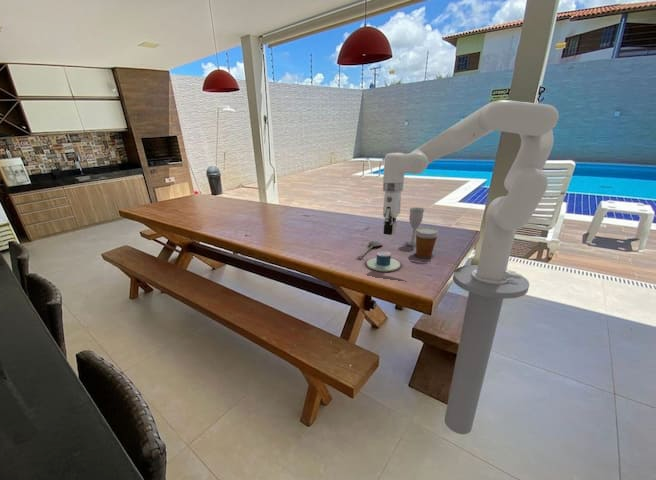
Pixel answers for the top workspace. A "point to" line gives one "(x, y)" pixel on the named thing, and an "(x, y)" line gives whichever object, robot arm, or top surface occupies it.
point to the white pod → (392, 228)
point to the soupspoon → (372, 244)
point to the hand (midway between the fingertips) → (389, 231)
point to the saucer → (393, 266)
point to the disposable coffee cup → (425, 241)
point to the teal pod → (383, 258)
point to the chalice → (415, 221)
